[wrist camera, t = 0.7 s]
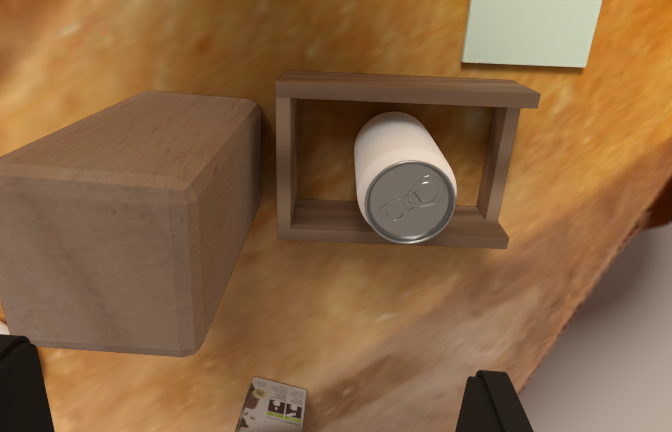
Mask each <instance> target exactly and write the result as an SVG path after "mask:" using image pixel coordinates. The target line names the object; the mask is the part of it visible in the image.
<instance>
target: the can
mask: <svg viewBox="0 0 672 432" xmlns="http://www.w3.org/2000/svg"><path fill="white" fill-rule="evenodd" d="M354 161H355V177H356V190H357V199H358V204H359V208H360V210H361V213H362V215H363V217H364V218H365V220H366V221H367V222H368V223H369V224H370V225H371V227H372V228H373V229H374V230H375V231H376V232H377V233H378V234H379V235H380V236H382V237H383V238H385V239H387V240H389V241H392V242H395V243H400V244H415V243H420V242H424V241H426V240H429V239H431V238H433V237H434V236H436V235H437V234H438V233H440V232H441V231H442V230H443V229H444V228H445V227H446V226H447V224H448V223H449V221H450V220H451V218H452V215H453V213H454V210H455V204H456V194H457V187H456V181H455V177H454V174H453V172H452V170H451V168H450V166H449V164H448V162H447V161H446V159H445V158H444V156H443V154H442V153H441V151H440V150H439V148H438V146H437V145H436V143H435V142H434V140H433V139H432V137H431V136H430V134H429V133H428V131H427V130H426V128H425V127H424V126H423V125H422V124H421V123H420V122H419V121H418V120H417V119H416V118H414V117H413V116H411V115H409V114H406V113H402V112H386V113H382V114H379V115H377V116H375V117H373V118H372V119H370V120H369V121H368V122H367V123H366V124H365V125H364V126H363V127H362V128H361V130H360V131H359V133H358V135H357V138H356V141H355V146H354Z"/></svg>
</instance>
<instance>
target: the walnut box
mask: <svg viewBox="0 0 672 432" xmlns="http://www.w3.org/2000/svg"><path fill="white" fill-rule="evenodd" d="M275 95H276V163H277V232H278V240H300V241H324V242H348V243H372V244H396V245H420V246H444V247H468V248H492V249H507V245H508V241H509V237H508V235H507V234H506V233H505V231H504V230H503V228H502V227H501V225H500V224H499V222H498V217H499V212H500V207H501V202H502V197H503V193H504V188H505V183H506V178H507V173H508V168H509V163H510V158H511V153H512V148H513V143H514V138H515V133H516V129H517V124H518V119H519V114H520V109H521V108H535V109H537V108H538V103H539V99H540V93H538V92H536V91H534V90H532V89H529V88H527V87H525V86H523V85H521V84H519V83H517V82H515V81H513V80H499V79H475V78H452V77H428V76H405V75H382V74H358V73H335V72H311V71H288V70H285V71H284V73H283V74H282V75H281V76H280V77H279V79H278V80H277V81H276V82H275ZM298 98H300V99H323V100H347V101H370V102H394V103H417V104H441V105H464V106H488V107H494V112H493V117H492V123H491V128H490V134H489V139H488V145H487V151H486V156H485V162H484V167H483V173H482V178H481V184H480V189H479V195H478V201H477V206H456V205H455V210H454V213H453V215H452V218H451V220H450V221H449V223H448V224H447V226H446V227H445V228H444V229H443V230H442V231H441V232H440V233H438V234H437V235H436V236H434V237H433V238H431V239H429V240H426V241H424V242H420V243H415V244H400V243H395V242H392V241H389V240H387V239H385V238H383V237H382V236H380V235H379V234H378V233H377V232H376V231H375V230H374V229H373V228H372V227H371V225H370V224H369V223H368V222H367V221H366V220H365V218H364V217H363V215H362V213H361V210H360V208H359V204H358V201H337V200H313V199H297V158H298Z"/></svg>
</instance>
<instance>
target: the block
mask: <svg viewBox="0 0 672 432" xmlns="http://www.w3.org/2000/svg"><path fill="white" fill-rule="evenodd" d="M260 174H261V111H260V108H259V105H258V103H256V102H254V101H252V100H250V99H245V98H233V97H221V96H209V95H197V94H184V93H172V92H160V91H148V90H147V91H145V92H142V93H139V94H137V95H134V96H132V97H130V98H128V99H126V100H124V101H121V102H119V103H117V104H115V105H113V106H110V107H108V108H106V109H104V110H102V111H100V112H97V113H95V114H93V115H91V116H89V117H86V118H84V119H82V120H80V121H78V122H76V123H73V124H71V125H69V126H67V127H65V128H62V129H60V130H58V131H56V132H54V133H52V134H49V135H47V136H45V137H43V138H41V139H38V140H36V141H34V142H32V143H30V144H28V145H25V146H23V147H21V148H19V149H17V150H14V151H12V152H10V153H8V154H6V155H4V156H1V157H0V300H1V304H2V307H3V311H4V315H5V319H6V322H7V326H8V330H9V334H10V335H19V336H26V337H27V338H28V339H29V340H30V343H32V344H34V345H35V346H36V347H48V348H62V349H76V350H89V351H103V352H117V353H131V354H145V355H159V356H173V357H185V356H189V355H193V354H195V353H196V352H197V351H198V350H199V349H200V347H201V345H202V343H203V341H204V339H205V337H206V334H207V332H208V329H209V327H210V324H211V322H212V320H213V317H214V315H215V312H216V310H217V307H218V305H219V303H220V300H221V298H222V295H223V293H224V290H225V288H226V286H227V283H228V281H229V278H230V276H231V273H232V271H233V268H234V266H235V264H236V261H237V259H238V256H239V254H240V251H241V249H242V247H243V244H244V242H245V239H246V237H247V234H248V232H249V230H250V227H251V225H252V222H253V220H254V217H255V215H256V213H257V210H258V208H259V205H260Z"/></svg>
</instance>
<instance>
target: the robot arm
mask: <svg viewBox="0 0 672 432" xmlns="http://www.w3.org/2000/svg"><path fill="white" fill-rule="evenodd" d="M0 432H55V431H54V426H53V422H52V417H51V412H50V408H49V403H48V398H47V394H46V389H45V384H44V380H43V375H42V370H41V365H40V361H39V356H38V351H37V348H36V346H35V345H34V344H32V343H30V340H29V339H28V338H27V337H26V336H19V335H6V334H0ZM455 432H534V431H533V429H532V427H531V425H530V423H529V420H528V418H527V416H526V414H525V411H524V409H523V407H522V405H521V403H520V400H519V398H518V396H517V394H516V391H515V389H514V387H513V385H512V382H511V380H510V378H509V376H508V375H507V373H505V372H498V371H485V370H479V371H478V372H477V373H476V376H475V377H472V376H470V377H468V379H467V383H466V387H465V392H464V396H463V400H462V405H461V409H460V414H459V418H458V422H457V427H456V431H455Z"/></svg>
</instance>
